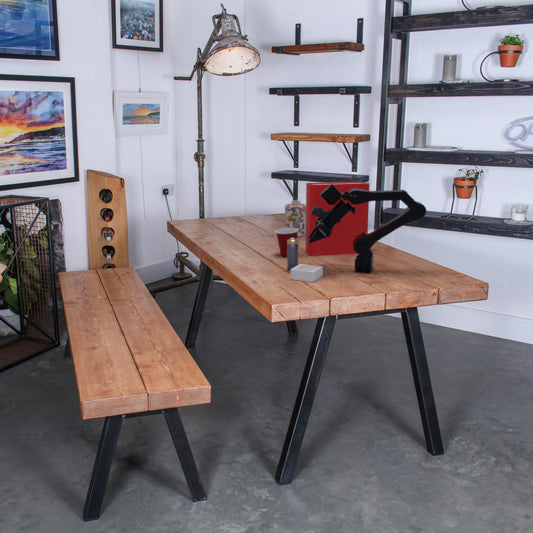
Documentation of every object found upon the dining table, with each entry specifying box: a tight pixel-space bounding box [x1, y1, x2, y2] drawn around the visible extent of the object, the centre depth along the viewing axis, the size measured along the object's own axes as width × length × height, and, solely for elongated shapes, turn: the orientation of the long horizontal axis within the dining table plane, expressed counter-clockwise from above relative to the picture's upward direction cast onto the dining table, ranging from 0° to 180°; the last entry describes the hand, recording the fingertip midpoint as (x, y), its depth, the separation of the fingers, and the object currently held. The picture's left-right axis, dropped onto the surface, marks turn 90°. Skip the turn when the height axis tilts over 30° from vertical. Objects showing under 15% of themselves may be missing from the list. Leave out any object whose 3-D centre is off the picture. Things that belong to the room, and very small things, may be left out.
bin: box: [290, 263, 324, 283], centre depth 240 cm, size 10×10×4 cm
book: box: [305, 180, 370, 257], centre depth 279 cm, size 27×8×32 cm, turn 103°
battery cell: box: [286, 238, 299, 272], centre depth 250 cm, size 4×4×13 cm
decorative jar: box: [284, 200, 306, 236], centre depth 323 cm, size 12×12×18 cm
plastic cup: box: [274, 227, 299, 258], centre depth 276 cm, size 11×11×12 cm
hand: (309, 240), depth 249 cm, fingers open, 9 cm apart
